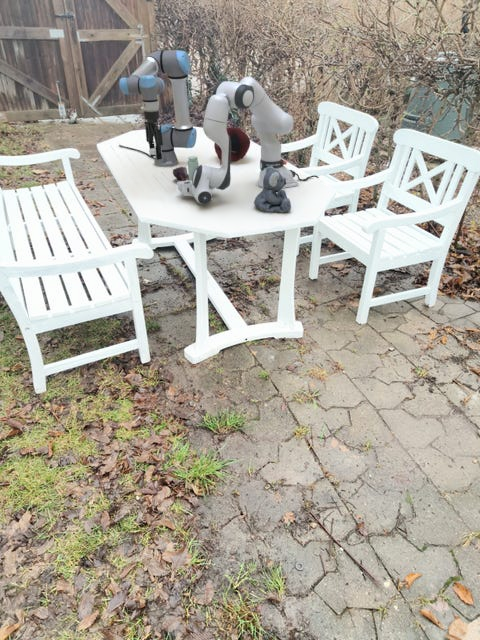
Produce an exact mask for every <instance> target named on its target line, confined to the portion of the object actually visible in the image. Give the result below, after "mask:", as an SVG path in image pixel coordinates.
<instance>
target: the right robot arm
mask: <svg viewBox="0 0 480 640" xmlns="http://www.w3.org/2000/svg"><path fill="white" fill-rule="evenodd" d="M232 108H233V109H238V110H247V109H248V110H249V111H250V112H251V116H250V117H251V118H250V122H251V126H252V128H253V129H254V130H255V132H256V134H257V136H258V139H259V142H260V159H259V169H256V172H259V176H258V181H257V185H258V187H260V188H263V179H264V176H265V173H266V168H267V167H269V166H271V167H273V168H274V169H275V170H278V171H279V173H280V174H281V175H282V177H283V179H284V180H285V181H286V185H285V186H284V187H283V188H282V189H287V188H292V187H297V186H298V182H297V181H296V180H295V179H294V178H295V177H297V180H299V181H300V182H304V181H307V180H308V179H311V178H317V179H320V177H319V176H318V175H310V176H307V177H306V178H300V175H299V174H298V173H296V172H295V171H294V170H292V169H289V168H288V167H286V166H287V164H288V161H286V159H285V160H284V159H283V158H282V144H281V142H280V141H279V139H278V138H277V136H276V135H279V136H280V135H281V136H282V135H289V134H290V133H291V132H292V130H293V128H294V126H295V125H294V124H295V123H294V118H293V116H292V115H291V114H289V113H287V111H284V110H283V109H282V108H281V107H280V106H278V105H277V104H276V103H275V102H274V101H273V100H272V99H271V98H270V96H269V95H268V94H267V92H266V91H265V89H264V88H263V86H262V85H261V84H260V83H259V82H258V80H256V79H255V78H254V77H252V76H244V77H243V78H242V79H240V81H239V82H238V81H230V80H220V81H218V82H216V84H215V85H214V87H213V90H212V95H211V96H210V97H209V99H208V102H207V105H206V108H205V112H204V117H203V124H202V130H203V133H204V134H205V136H206V138H208V139H209V140H211V141H212V142H213V143H214V144H215V143H216V144H218V145H219V146H220V148H221V150H222V164H221V165H220V167H219V168H218V167H213V166H209V165H204V164H199V165H198V167H197V168H196V169H195V171H194V173H193V178H192V180H186V181H178V180H177V181H176V187H177V190H178V191H179V192H180V193H181V194H182V196H185V197H192V198H194V199H195V201H196V202H197V203H198V204H201V205H207V204H208V205H209V204H210V203H211V202H212V199H213V193H212V191H211V190H213V189H217V190H220V191H224V190H226V189H227V188H229V187H230V185H231V181H232V177H231V175H232V174H231V164H232V162H231V138H230V136H229V135H228V133H227V128H228V127H227V126H228V120H229V112H230V110H231V109H232Z"/></svg>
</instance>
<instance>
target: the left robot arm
mask: <svg viewBox="0 0 480 640" xmlns="http://www.w3.org/2000/svg"><path fill="white" fill-rule="evenodd" d="M191 69H192V68H191V61H190V57H189V54H188V53H187V52H186V51H185V50H180V49H171V50H169V49H167V50H165V49H164V50H163V49H162V50H161V49H160V50H156V51H154V52H151V53H150V54H148V55H146V56H145V57H144V58H143V60H142V61H141V64H140V65H139V66H138V67H137V68H136V69H135V70H134V71H133V72H132V73H131V74H130V75H129V76H128V77H121V78H120V79H119V82H118V83H119V85H118V86H119V89H120V92H121V94H123V95H141V99H142V108H143V117H144V120H146V121H144V127H145V139H146V142H147V144H148V146H149V149H151V148H156V155H151V154H150V153H147V152H145V151H143V150H141V149H137V148H132V147H129V146H125V145H121V144H118V146H119V147H121V148H125V149H130V150H132V151H136V152H140V153H142V154H144V155H147V156H148V157H150V158H151V159H154V160H153V161H154V165H155V166H157V167H163V168H164V167H165V168H167V167H168V168H169V167H174V166H177V165H178V164H179V159H178V157H177V153H176V151H175V149H176V148H177V149H178V148H179V149H180V148H181V149H193V148H194V147H195V146H196V142H197V138H198V137H197V136H198V135H197V134H198V133H197V131H198V130H197V128H195V127H194V125H193V123H192V122H191V117H190V108H189V98H188V88H187V79H188V78H189V74H190V73H191ZM159 74H160V75H161V74H162V75H167V79H168V80H169V81H170V83H171V91H172V99H173V108H174V116H175V123H174V126H173V125H172V124H163V125H161V124H159V123H158V120H159V119H160V111H159V109H160V108H159V99H158V95H160V94H162V93H163V92H164V91H165V88H166V84H165V82H164V80H163V79H162V78H161V77H157V75H159ZM161 150H162V153H161Z"/></svg>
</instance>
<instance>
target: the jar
mask: <svg viewBox="0 0 480 640" xmlns="http://www.w3.org/2000/svg"><path fill="white" fill-rule="evenodd" d="M187 159H188V160H187V173H188V175H189V180H192V178H193V173H194V171H195V169H196V168H197V167H198V166H199V160H198V157H197V156H195V155H194V156H193V155H192V156H189V157H187Z"/></svg>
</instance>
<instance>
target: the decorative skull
mask: <svg viewBox="0 0 480 640" xmlns="http://www.w3.org/2000/svg"><path fill="white" fill-rule="evenodd" d="M227 133H228V135H229V136H230V138H231V163H236V162H238V161H241V160H242V159H244V158H245V157H246V155H247V153H248V152H249V149H250V147H251V139H250V138H249V136H248V134H246V132H245V131H243V130H242V129H240V128H238V127H233V126H232V127H231V126H230V127H227ZM213 147H214V151H215V154H216V156H217V158H218V160H219V165H220V166H221V164H222V150H221V148H220V146H219V145H218V144H216V143H215V142H214V144H213Z"/></svg>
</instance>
